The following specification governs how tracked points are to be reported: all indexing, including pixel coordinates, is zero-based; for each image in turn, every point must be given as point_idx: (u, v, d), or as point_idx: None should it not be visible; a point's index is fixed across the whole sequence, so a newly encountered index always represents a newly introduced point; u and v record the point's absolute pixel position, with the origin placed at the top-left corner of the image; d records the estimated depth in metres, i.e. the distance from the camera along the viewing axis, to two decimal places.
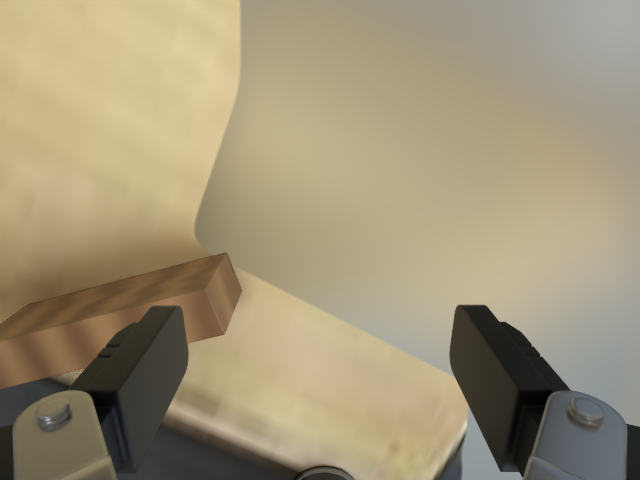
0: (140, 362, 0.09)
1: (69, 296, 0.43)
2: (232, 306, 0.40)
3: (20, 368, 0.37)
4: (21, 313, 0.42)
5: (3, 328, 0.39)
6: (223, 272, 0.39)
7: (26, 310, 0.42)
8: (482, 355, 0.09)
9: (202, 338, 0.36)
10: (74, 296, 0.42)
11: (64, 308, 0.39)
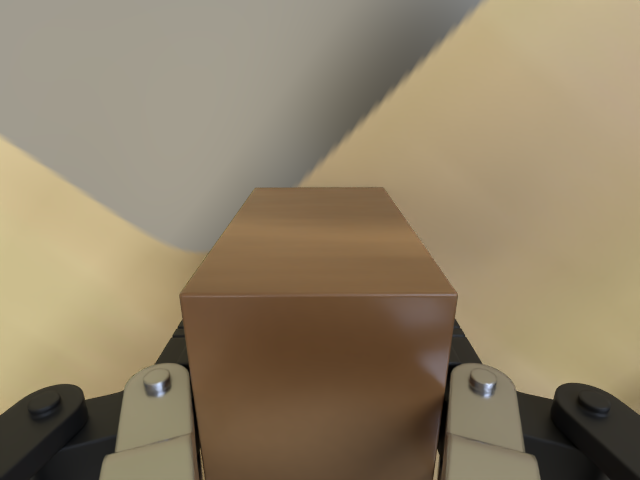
0: None
1: None
2: (388, 221, 0.11)
3: None
4: None
5: None
6: (269, 210, 0.12)
7: None
8: None
9: (437, 392, 0.08)
10: None
11: None
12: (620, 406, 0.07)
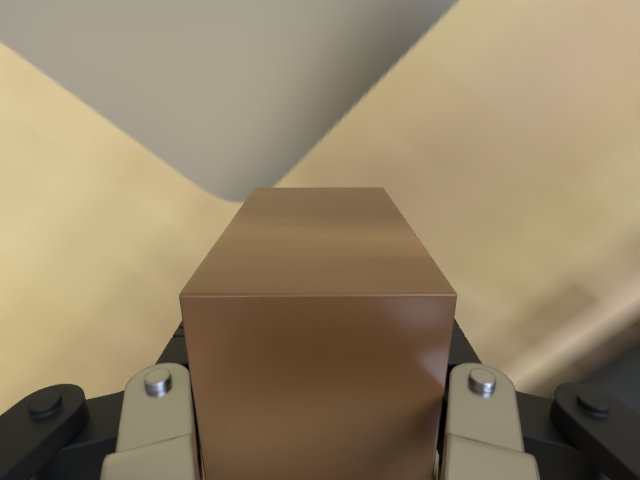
0: None
1: None
2: (388, 221, 0.11)
3: None
4: None
5: None
6: (269, 210, 0.12)
7: None
8: None
9: (437, 392, 0.08)
10: None
11: None
12: (619, 406, 0.07)
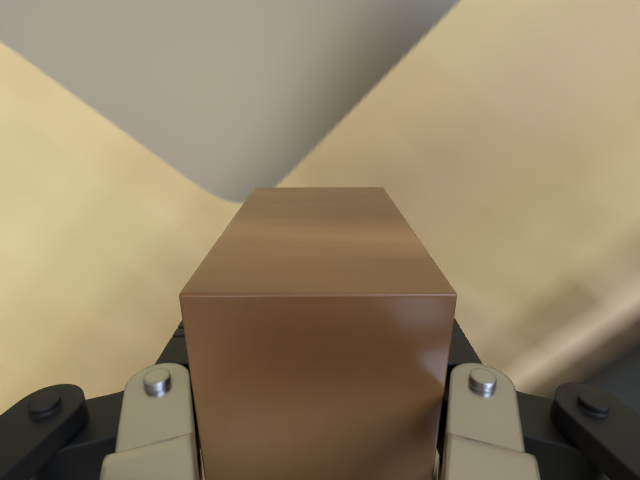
0: None
1: None
2: (388, 221, 0.11)
3: None
4: None
5: None
6: (269, 210, 0.12)
7: None
8: None
9: (437, 391, 0.08)
10: None
11: None
12: (620, 406, 0.07)
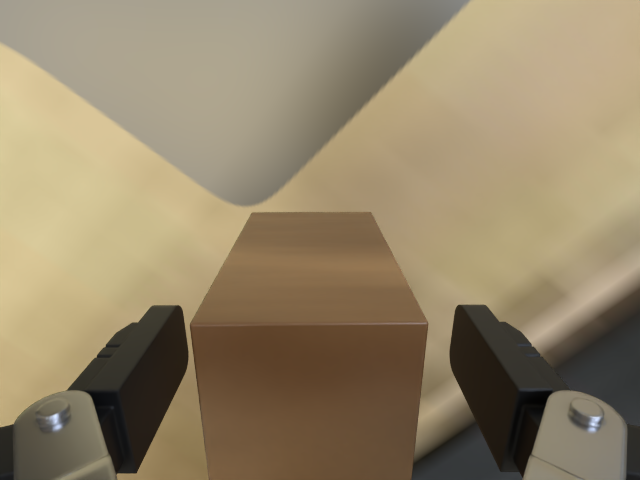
0: (140, 362, 0.09)
1: None
2: (373, 249, 0.12)
3: None
4: None
5: None
6: (266, 237, 0.13)
7: None
8: (482, 355, 0.09)
9: (413, 405, 0.09)
10: None
11: None
12: None
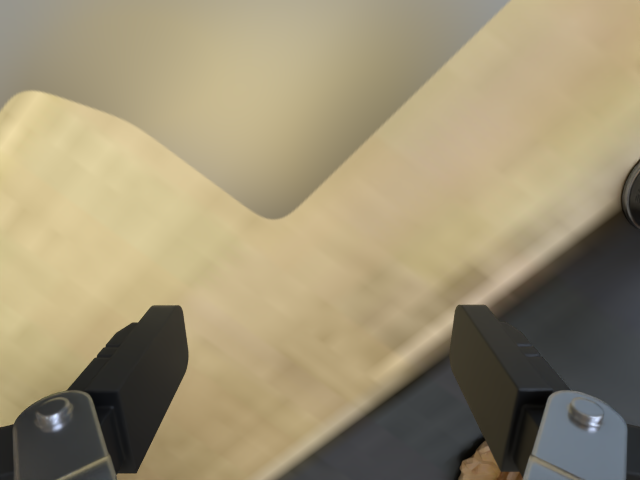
0: (140, 362, 0.09)
1: None
2: None
3: None
4: None
5: None
6: None
7: None
8: (482, 355, 0.09)
9: None
10: None
11: None
12: None
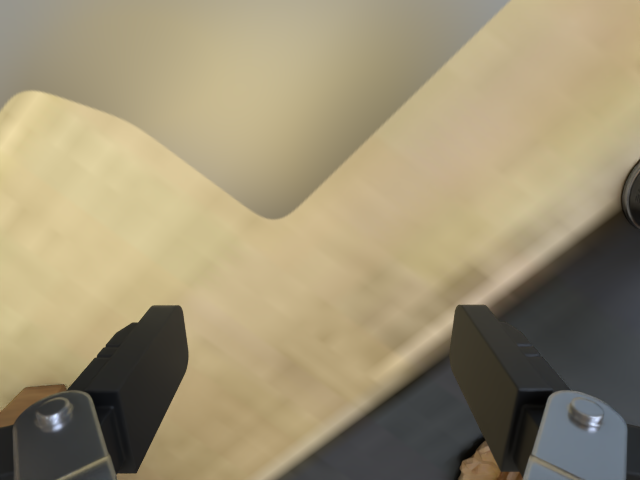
0: (140, 362, 0.09)
1: None
2: None
3: None
4: None
5: None
6: None
7: None
8: (482, 355, 0.09)
9: None
10: None
11: None
12: None
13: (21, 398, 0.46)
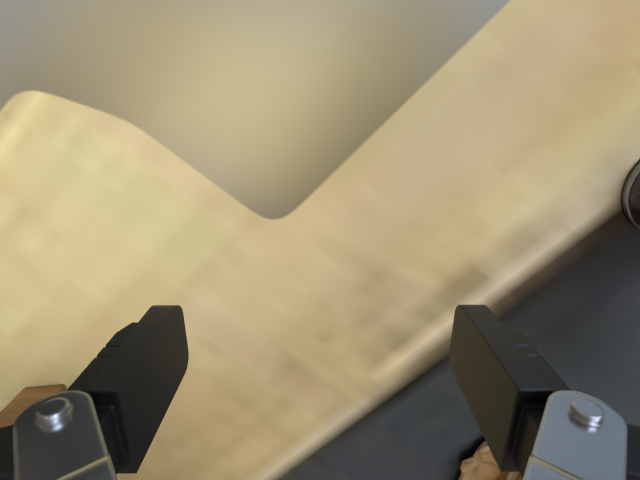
0: (140, 362, 0.09)
1: None
2: None
3: None
4: None
5: None
6: None
7: None
8: (482, 355, 0.09)
9: None
10: None
11: None
12: None
13: (21, 398, 0.46)
